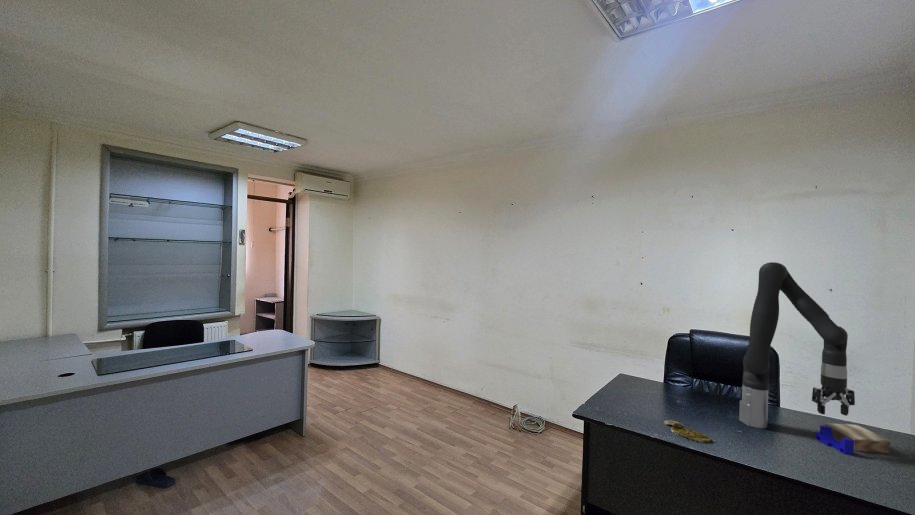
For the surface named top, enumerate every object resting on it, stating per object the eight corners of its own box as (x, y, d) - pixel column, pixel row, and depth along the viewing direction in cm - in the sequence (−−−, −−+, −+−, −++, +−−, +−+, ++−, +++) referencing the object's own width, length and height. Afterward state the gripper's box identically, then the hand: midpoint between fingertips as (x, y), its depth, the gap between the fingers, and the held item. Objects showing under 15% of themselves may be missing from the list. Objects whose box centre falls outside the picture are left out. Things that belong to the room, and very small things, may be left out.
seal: (712, 440, 153) (671, 429, 162) (713, 429, 153) (672, 418, 162) (712, 447, 145) (669, 435, 154) (712, 435, 145) (670, 424, 154)
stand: (854, 450, 145) (854, 438, 144) (824, 434, 157) (824, 423, 157) (889, 452, 143) (890, 440, 143) (856, 436, 156) (857, 424, 156)
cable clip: (815, 438, 154) (816, 424, 154) (827, 439, 153) (828, 426, 153) (840, 454, 142) (840, 439, 142) (853, 455, 141) (854, 440, 141)
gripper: (823, 377, 144) (822, 417, 144) (862, 378, 143) (861, 419, 143) (806, 371, 151) (806, 409, 152) (843, 372, 150) (842, 411, 150)
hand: (832, 414), depth 147 cm, fingers open, 8 cm apart
